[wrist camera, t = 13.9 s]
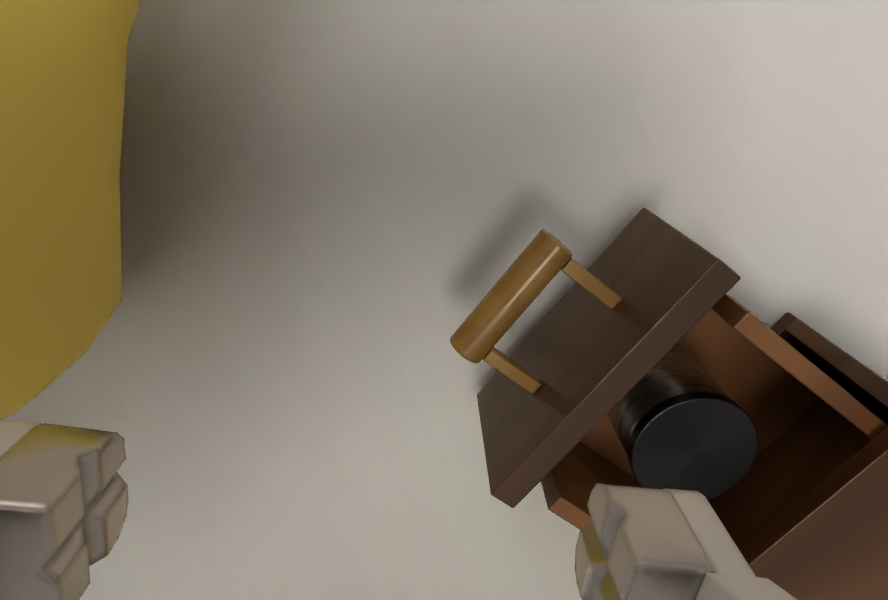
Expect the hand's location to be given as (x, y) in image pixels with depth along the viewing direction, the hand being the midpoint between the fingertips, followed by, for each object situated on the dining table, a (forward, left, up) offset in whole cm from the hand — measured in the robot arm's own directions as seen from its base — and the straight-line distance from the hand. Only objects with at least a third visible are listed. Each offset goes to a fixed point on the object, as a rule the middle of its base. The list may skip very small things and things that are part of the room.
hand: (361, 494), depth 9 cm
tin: (+15, 0, -19) cm, 24 cm away
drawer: (+14, 0, -20) cm, 25 cm away
